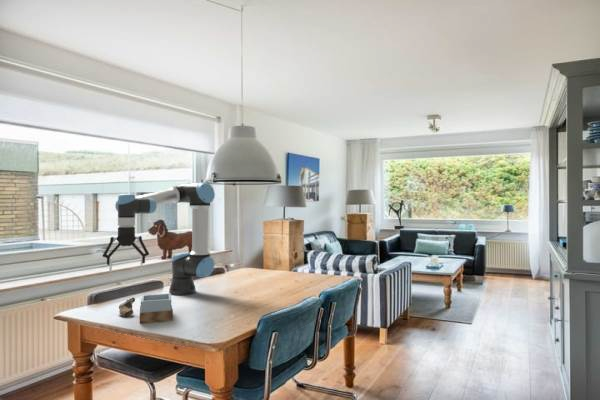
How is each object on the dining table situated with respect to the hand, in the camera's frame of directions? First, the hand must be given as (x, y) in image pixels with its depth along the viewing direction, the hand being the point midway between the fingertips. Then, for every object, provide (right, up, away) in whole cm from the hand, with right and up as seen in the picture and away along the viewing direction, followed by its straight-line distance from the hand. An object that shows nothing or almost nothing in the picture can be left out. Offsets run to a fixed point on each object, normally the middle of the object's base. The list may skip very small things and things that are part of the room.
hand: (126, 271), depth 199 cm
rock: (0, -21, 0) cm, 21 cm away
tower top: (+16, -16, -6) cm, 24 cm away
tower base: (+16, -21, -6) cm, 27 cm away
